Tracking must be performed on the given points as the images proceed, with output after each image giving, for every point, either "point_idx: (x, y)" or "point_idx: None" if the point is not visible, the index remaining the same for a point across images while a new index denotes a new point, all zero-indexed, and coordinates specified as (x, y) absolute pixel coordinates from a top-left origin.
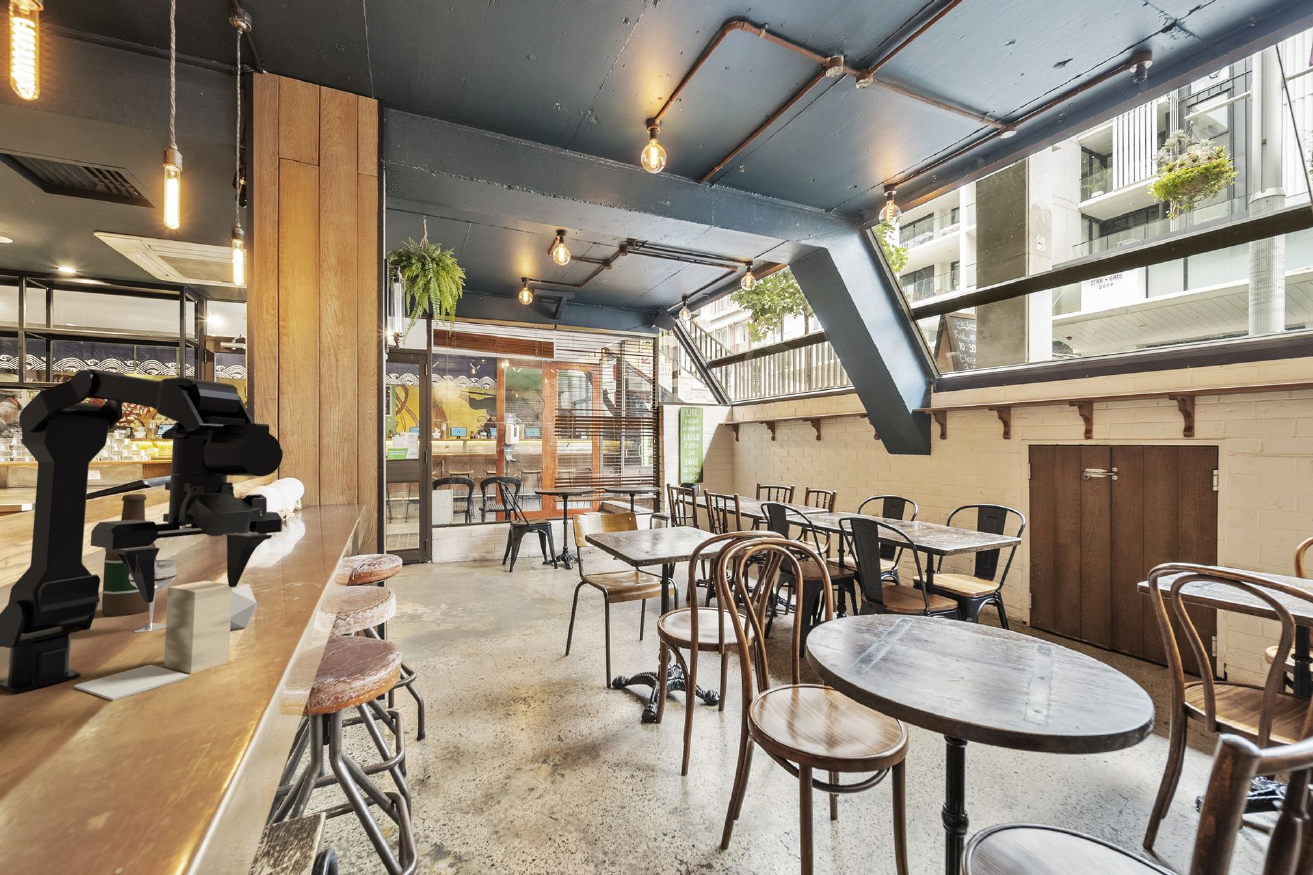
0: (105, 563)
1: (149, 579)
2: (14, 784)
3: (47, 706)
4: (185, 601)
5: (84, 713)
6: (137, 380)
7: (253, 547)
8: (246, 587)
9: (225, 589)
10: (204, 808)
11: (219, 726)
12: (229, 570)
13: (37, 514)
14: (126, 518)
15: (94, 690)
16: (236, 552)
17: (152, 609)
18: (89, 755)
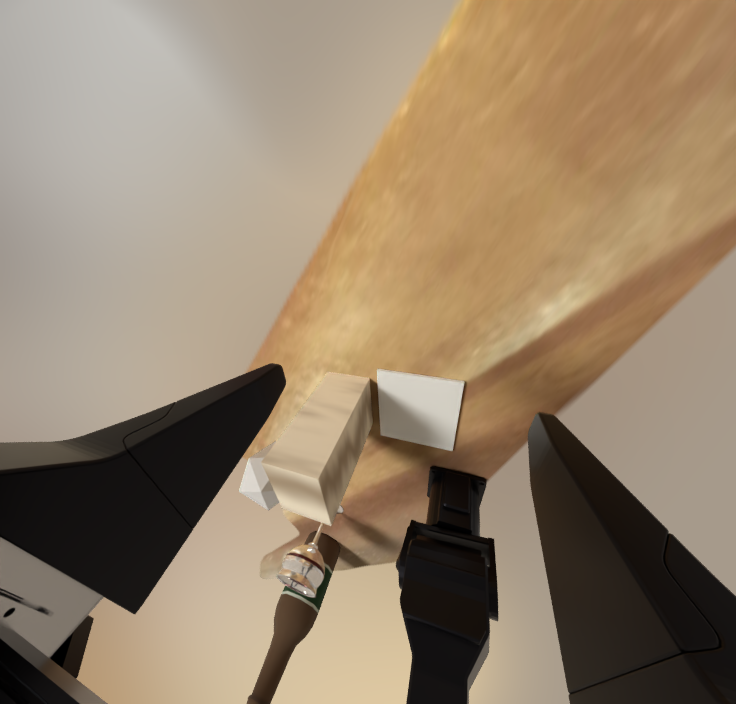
0: (319, 608)
1: (624, 506)
2: None
3: (501, 428)
4: (332, 476)
5: (505, 374)
6: None
7: (71, 444)
8: (244, 487)
9: (275, 459)
10: None
11: (483, 92)
12: (251, 426)
13: None
14: (280, 670)
15: (454, 421)
16: (169, 475)
17: (322, 524)
18: (649, 197)
